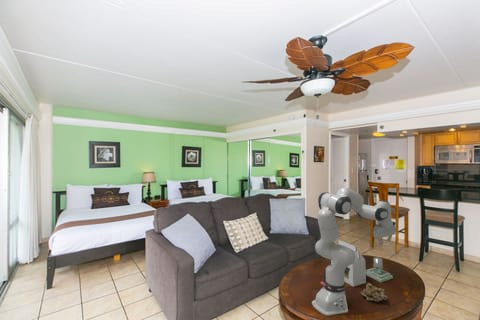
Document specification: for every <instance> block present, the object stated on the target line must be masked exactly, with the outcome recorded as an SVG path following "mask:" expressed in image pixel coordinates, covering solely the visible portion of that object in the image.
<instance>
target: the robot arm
mask: <svg viewBox="0 0 480 320" xmlns="http://www.w3.org/2000/svg"><path fill="white" fill-rule="evenodd" d="M364 202H365V199H364V197H363V196H362V195H361V194H360V193H359V192H357V191H355V190H354V189H351V188H348V187H346V186H345V187H340V188H339V189H338V190H337V192H336V193H331V192H321V193H320V194H319V196H318V199H317V203H318V208H319V210H318V212H317V222H318V223H317V224H318V227H319V232H320V239H319V240H317V242H316V243H315V245H314V247H315V248H314V249H315V252H316V254H318V255H319V256H321V257H323V258H324V259H325V258H326V259H327V260H330V261H331V260H332V261H333V264H332V265H331V264H329V265H327V266H326V267H325V280H324V281H321V282H320V285H322V286H323V287H322V288H321V289H320V290H319V291H318V292H317V293H316V296H315V299H313V300H312V301H311V305H312V307H313V308H314V309H315V310H316V311H317V312H319V313H320V314H322V315H324V316H326V317H327V316H334V315H339V314H346V313H349V309H348V306H349V305H348V303H347V297H346V282H345V281H344V272H345V269H346V268H347V269H348V268H349V265H351V264H353V263H354V261H355V253H354V251H353V250H352V249H350V248H348V247H346V246H343V245H340V244H336V242H335V241H337V240H339V237H340V231H339V226H338V222H337V219H336V214H339V215H342V216H343V215H344V216H345V215H347V214H348V213H350V212H351V209H352V210H353V211H354V212H355V213H356V214H357V215H358V216H359V217H360V218H363V219H369V220H373V221H376V224H375V225H374V227H373V229H372V230H373V231H372V236H373V238H375V239H377V242H378V244H380V245H382V244H383V240H382V239H383V238H385V237H387V242H391V241H392V238H393V235H396V234H397V227H396V225H397V222H396V221H393V220H392V217H391V216H392V206H391V203H390V202H389V201H386V200H377V201H376V204H375V205H369V204H365V203H364Z"/></svg>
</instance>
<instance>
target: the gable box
mask: <svg viewBox="0 0 480 320" xmlns="http://www.w3.org/2000/svg"><path fill="white" fill-rule="evenodd" d="M335 243H336V244H340V245H343V246H346V247H348V248H350V249H352V250H353V251H354V253H355V261H354V263H353V264H351V265H349V266H348V267H347V268H346V269H345V272H344V283H345V284H346V283H347V284H348V285H350V286H351V287H354V288H355V287H357V286H360V285H364V284H367V275H366V270H367V268H366V266H367V265H366V259H365V258H364V256H363V255H362V254H361V252H360V251H359V250H358V246H356V245H354V244H352V243H349V242H347V241H344V240H342V239H338V242H335ZM332 264H333V261H332V260H330V265H332Z"/></svg>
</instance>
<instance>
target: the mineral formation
mask: <svg viewBox="0 0 480 320" xmlns="http://www.w3.org/2000/svg"><path fill="white" fill-rule="evenodd" d="M365 286H366V287H365V288H363V289H362V291H360V294H361V295H362V296H364V297H365V299H366V301H372V302H373V301H374V302H380V301H383V300H384V301H386V300H388V295H387V294H385V289H384V288H381V287H379V288H378V287H377V286H374V285H372V283H371V282H367V283H366V285H365Z"/></svg>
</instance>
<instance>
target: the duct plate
mask: <svg viewBox="0 0 480 320" xmlns="http://www.w3.org/2000/svg"><path fill="white" fill-rule="evenodd" d="M366 277H370V278H371V279H374V280H375V281H377V282H379V283H383V282H386V281H389V280H392V279H394V277H393V275H392V274H391V273H390V272H388V271H386V270H383V275H380V276H379V275H377V274H375V273H374V267H372V268H368V269H366Z"/></svg>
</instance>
